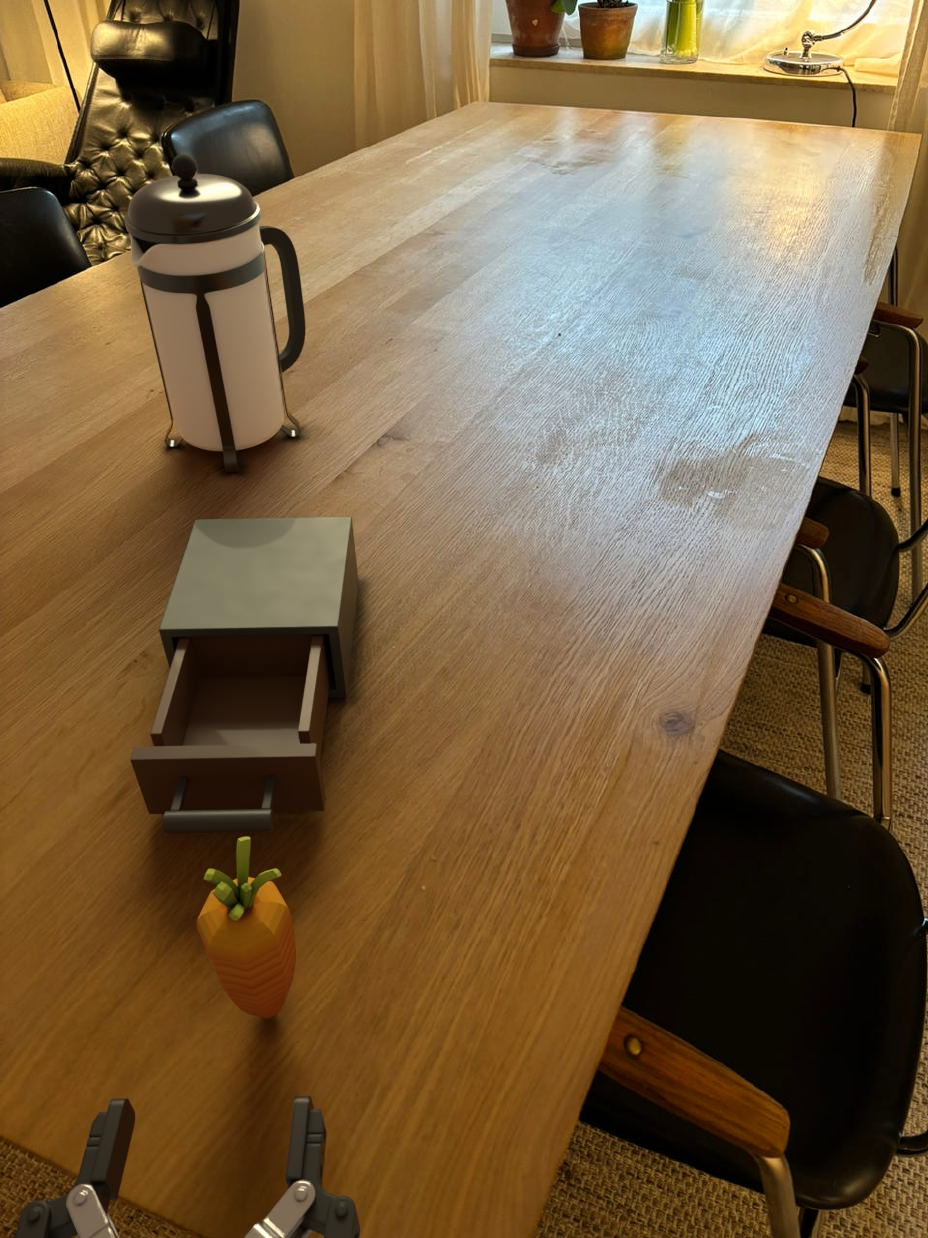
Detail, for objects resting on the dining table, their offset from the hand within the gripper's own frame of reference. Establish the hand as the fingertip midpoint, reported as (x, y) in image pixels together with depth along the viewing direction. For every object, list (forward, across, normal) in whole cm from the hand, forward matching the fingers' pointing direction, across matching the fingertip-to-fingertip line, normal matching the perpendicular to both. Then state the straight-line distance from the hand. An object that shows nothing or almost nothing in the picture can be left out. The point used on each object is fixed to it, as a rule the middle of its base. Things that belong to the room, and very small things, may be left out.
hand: (214, 1104), depth 47 cm
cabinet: (+43, +4, +9) cm, 44 cm away
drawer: (+28, +4, +8) cm, 30 cm away
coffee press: (+78, +13, +9) cm, 80 cm away
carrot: (+9, 0, +9) cm, 13 cm away
